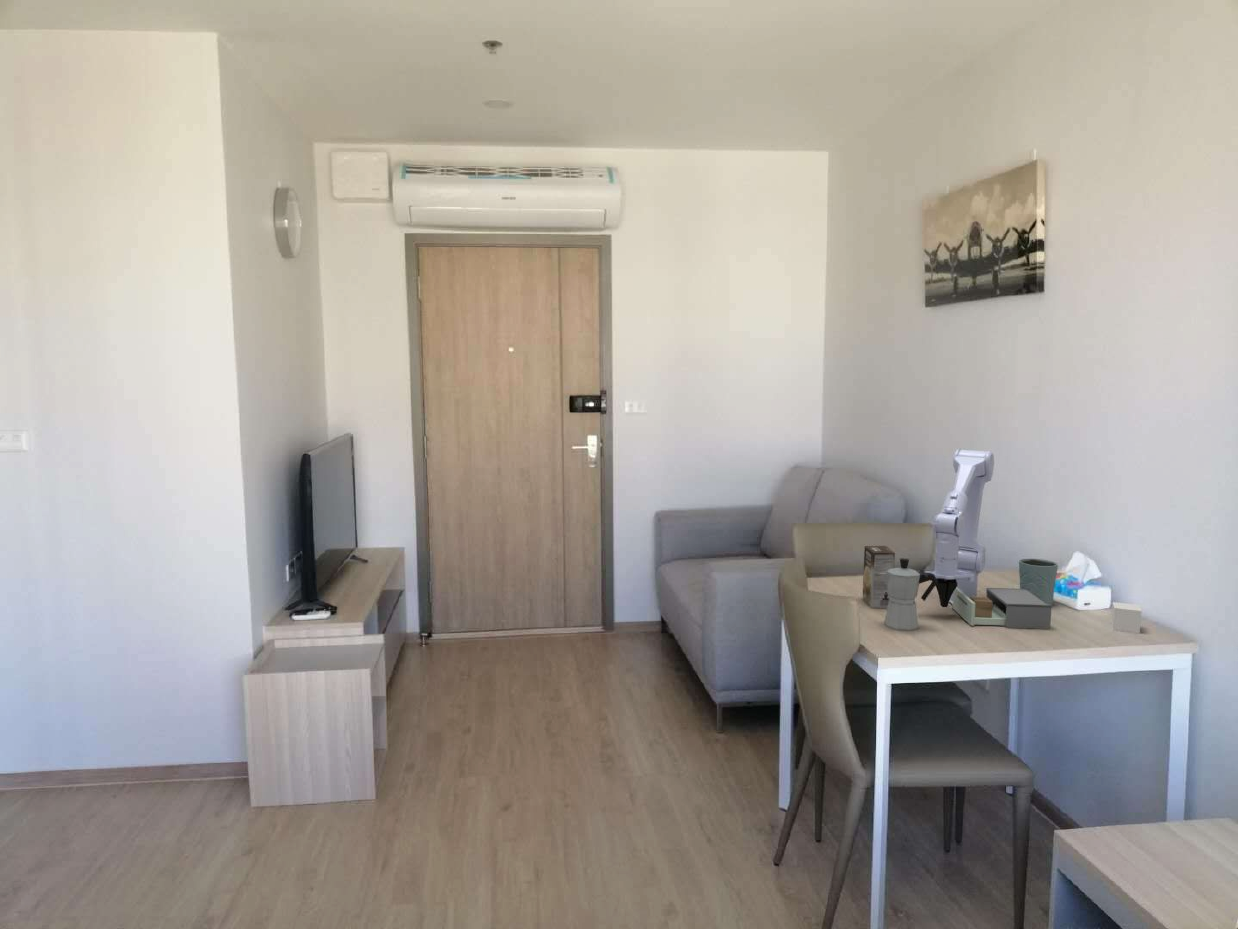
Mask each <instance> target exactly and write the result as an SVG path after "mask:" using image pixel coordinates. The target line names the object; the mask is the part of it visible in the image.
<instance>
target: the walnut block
mask: <svg viewBox="0 0 1238 929" xmlns="http://www.w3.org/2000/svg"><path fill="white" fill-rule="evenodd" d="M969 598H970V599H971V600H972V601H973V602H974V603H975V617H978V618H992V603H993V602H992V601H991V600H990V599H989V598H988V597H986V596H977V597H975V596H969Z"/></svg>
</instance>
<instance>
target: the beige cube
mask: <svg viewBox="0 0 1238 929" xmlns="http://www.w3.org/2000/svg"><path fill="white" fill-rule="evenodd" d="M1111 605H1112V606H1111V617H1110V625H1111V628H1112V630H1113V631H1119V632H1125V633H1134V634H1140V632H1141V622H1142V609H1141V607H1140V605H1139V604H1135V603H1133V604H1132V603H1124V602H1123V603H1122V602H1114V601H1112V604H1111Z"/></svg>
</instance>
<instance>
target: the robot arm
mask: <svg viewBox="0 0 1238 929" xmlns="http://www.w3.org/2000/svg"><path fill="white" fill-rule="evenodd" d="M952 458H953V459H952V462H953V464H952V466H953V468H954V472H955V473H956V476H955V479H954V482H953V484H954V485H953V488H952V490H951V491H949V492H947V494H946V496H945V499H944V501H943V505H942V507H941V510H940V512H939V513H938V514H936V515H935V517H934V520H933V531H934V540H935V556H934V570H930V571H929V570H928V571H925V570H924V571H925V572H926V573H932V574H934V575H935V577H936V579H937V581H938V583H937V584H936V586H935V588H936V591H937V595H938V598H939V604H940V606H941V607H942V608H948V607H949V603H950V604H951V605H952V606H953V592H954V590H955V589H956V587H957V588H958V589H959V590H961V591H962V592H963V593H964V594H965V595H966V596H968V597H969V596H975V597H978V596H977V595H978V580H979V579H978V578H979V574H981V573H982V572H984V570H985V567H986V547H985V546H984V545H983V544H982V543H981V542H980V541H979V540H978V539H977V537H978V530H979V522H980V516H981V508H982V501H983V495H984V494H983V493H984V492H983V491H984V489H985V485H986V483H988V482H991V481H992V477H993V475H994V474H993V473H994V466H995V457H994V454H993V452H992V451H991V450H988V451H987V450H986V451H985V450H971V449H961V448H960V449H959V448H958V449H956V451H955V452H954V454H953V457H952Z"/></svg>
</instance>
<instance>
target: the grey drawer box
mask: <svg viewBox="0 0 1238 929" xmlns="http://www.w3.org/2000/svg"><path fill="white" fill-rule="evenodd" d="M985 594H986V595H985V597H988V598H989V599H990V600H991V601H992V602H993V603H992V604H995V605H996V606H997V607H999V608H1000V609H1001V610H1002V611H1003V612H1005V613H1006V622H1005V625H1004V626H1005V628H1006V627H1007V628H1006V629H1028V628H1036V630H1051V624H1052V623H1051V620H1052V606H1053V605H1052V606H1051V605H1050V604H1049V603H1047V602H1046V601H1044V600H1043V599H1041V598H1040V597H1038V596H1037V595H1035V594H1034V593H1033V592H1031V591H1030V590H1028V589H1020V588H999V587H986V593H985ZM1010 627H1012V628H1010Z"/></svg>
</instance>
